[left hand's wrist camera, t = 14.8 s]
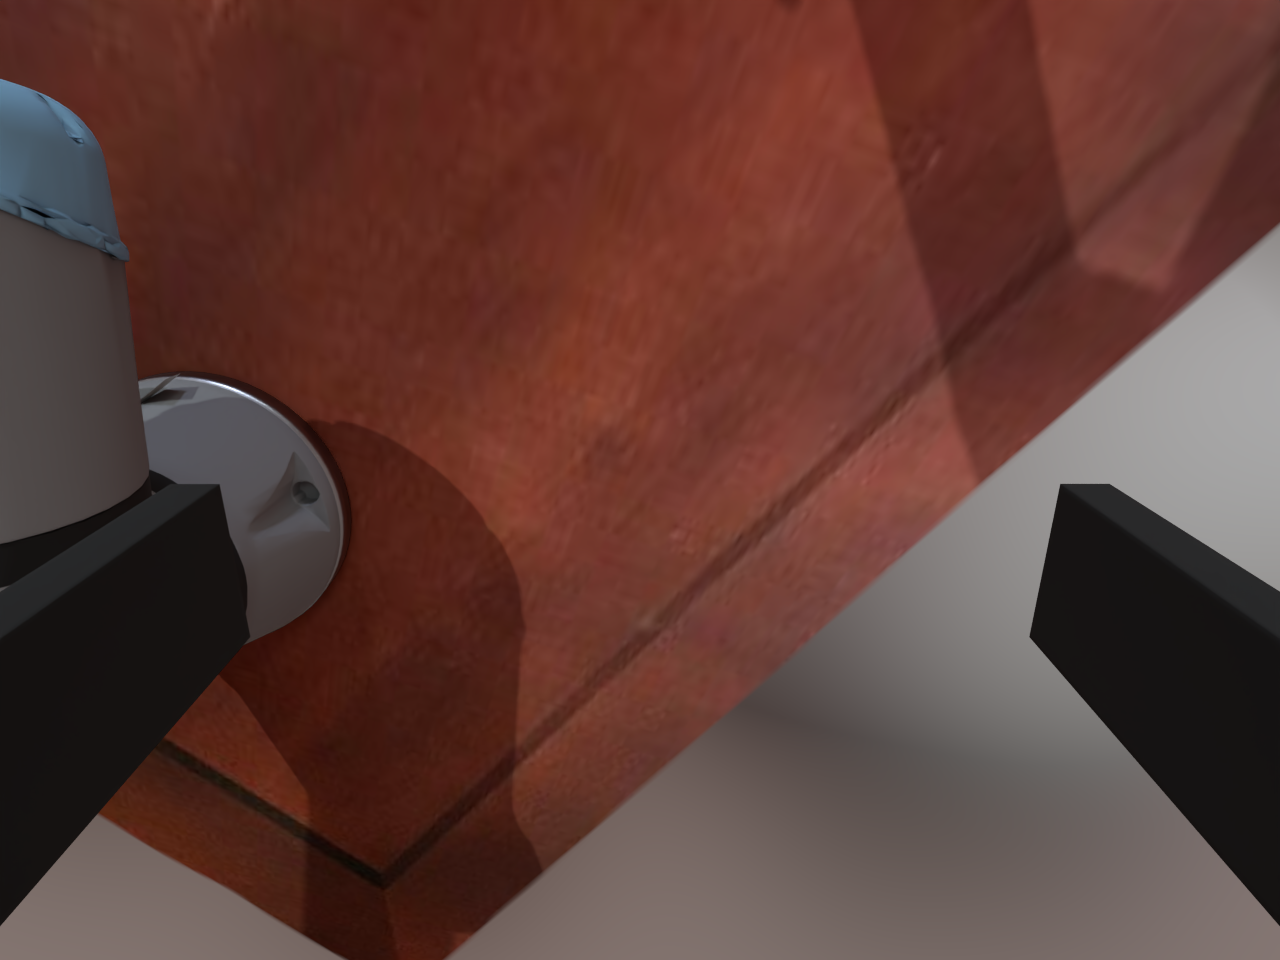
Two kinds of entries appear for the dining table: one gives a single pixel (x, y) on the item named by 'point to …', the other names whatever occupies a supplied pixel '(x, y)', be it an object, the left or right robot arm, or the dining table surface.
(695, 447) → the dining table surface
